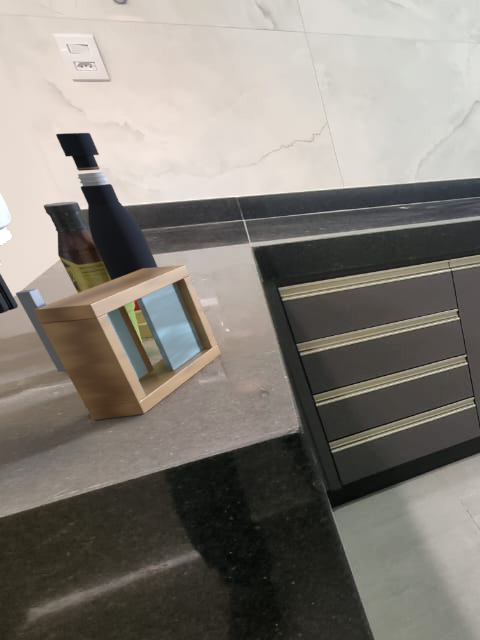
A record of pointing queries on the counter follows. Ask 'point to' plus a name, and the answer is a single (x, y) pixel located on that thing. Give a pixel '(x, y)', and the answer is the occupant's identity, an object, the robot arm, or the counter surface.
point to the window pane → (118, 320)
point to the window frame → (107, 352)
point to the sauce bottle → (77, 246)
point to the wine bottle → (107, 213)
